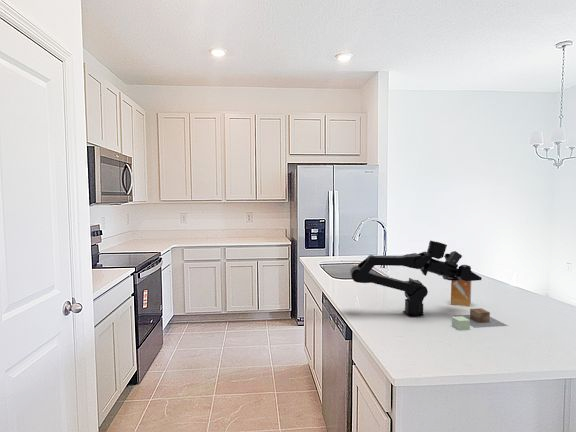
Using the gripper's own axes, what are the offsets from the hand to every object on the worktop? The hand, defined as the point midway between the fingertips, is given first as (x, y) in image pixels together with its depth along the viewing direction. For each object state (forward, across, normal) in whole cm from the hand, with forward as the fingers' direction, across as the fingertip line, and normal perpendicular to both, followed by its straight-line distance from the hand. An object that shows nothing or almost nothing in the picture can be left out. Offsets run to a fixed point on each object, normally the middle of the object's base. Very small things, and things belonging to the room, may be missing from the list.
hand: (475, 278), depth 154 cm
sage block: (-7, -11, +22) cm, 25 cm away
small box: (+5, +18, +11) cm, 22 cm away
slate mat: (+3, -4, +16) cm, 17 cm away
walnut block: (+3, -4, +16) cm, 17 cm away
